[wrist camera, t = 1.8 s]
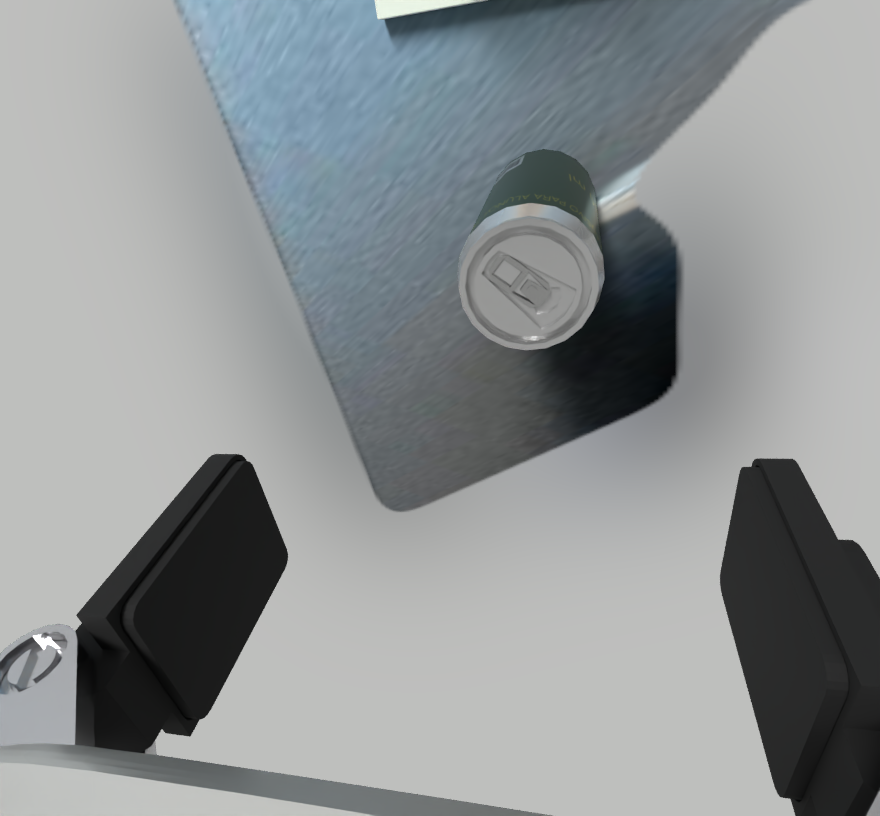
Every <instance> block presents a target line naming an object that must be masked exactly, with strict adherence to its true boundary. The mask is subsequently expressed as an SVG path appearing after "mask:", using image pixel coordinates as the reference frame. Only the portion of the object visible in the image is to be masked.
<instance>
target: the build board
mask: <svg viewBox="0 0 880 816" xmlns="http://www.w3.org/2000/svg"><path fill="white" fill-rule="evenodd" d="M483 1H488V0H375V5H376V11H377V17H378V19H382V20H384V19H390V18H395V17H401V16H406V15H412V14H417V13H423V12H428V11H434V10H439V9H445V8H450V7H456V6H461V5H466V4H472V3H477V2H483Z"/></svg>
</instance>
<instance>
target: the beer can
mask: <svg viewBox="0 0 880 816" xmlns="http://www.w3.org/2000/svg"><path fill="white" fill-rule="evenodd" d="M604 279H605V278H604V264H603V252H602V245H601V237H600V229H599V221H598V214H597V206H596V198H595V190H594V186H593V184H592V181H591V179H590V177H589V174H588V172H587V171H586V170H585V169H584V168H583V167H582V165H581V164H580V163H579V162H578V161H577V160H576V159H574V158H572V157H570V156H568V155H566V154H565V153H563V152H560V151H553V150H545V149H542V150H538V151H533V152H528V153H525V154H523V155H522V156H520V157H518V158H517V159H515V160H513V161H511V162H510V163H509V165H508V166H507V167H506V168H505V169H504V170H503V171H502V172H501V173H500V174H499V176H498V178H497V180H496V182H495V184H494V186H493V188H492V190H491V192H490V194H489V196H488V198H487V200H486V203H485V205H484V207H483V209H482V211H481V213H480V215H479V217H478V219H477V221H476V223H475V225H474V227H473V229H472V231H471V233H470V235H469V237H468V239H467V241H466V243H465V245H464V248H463V250H462V252H461V254H460V256H459V265H458V274H457V280H458V284H459V292H460V296H461V301H462V306H463V309H464V310H465V312H466V314H467V315H468V317H469V319H470V321H471V322H472V324H473V325H474V326H475V327H476V328H477V329H478V330H479V331H480V332H481V333H483V334H484V335H485V336H486V337H487V338H488V339H491V340H493V341H495V342H497V343H499V344H501V345H503V346H505V347H510V348H515V349H521V350H533V349H543V348H548V347H550V346H553V345H555V344H558V343H560V342H563V341H565V340H567V339H568V338H569V337H570V336H572V335H573V334H574V333H575V332H577V331H578V330H579V329H580V328H582V326H583V325H584V323H585V322H586V320H587V319H588V317H589V316H590V314H591V313H592V311H593V310H594V307H595V305H596V304H597V302H598V301H599V297H600V294H601V290H602V286H603V283H604Z"/></svg>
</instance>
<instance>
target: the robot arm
mask: <svg viewBox="0 0 880 816" xmlns="http://www.w3.org/2000/svg"><path fill="white" fill-rule="evenodd" d="M287 560H288V553H287V549H286V546H285V544H284V541H283V539H282V536H281V534H280V531H279V529H278V526H277V524H276V521H275V519H274V517H273V514H272V511H271V509H270V507H269V504H268V502H267V499H266V497H265V495H264V492H263V489H262V487H261V484H260V482H259V479H258V477H257V475H256V472H255V470H254V467H253V465H252V464H251V463H250V462H248V461H246V459H245V458H244V457H243V456H242V455H237V454H215V455H212V456H211V457H209V458H208V459H207V461H206V462H205V463H204V464H203V465H202V467H201V468H200V469H199V470H198V471H197V472H196V474H195V475H194V476H193V477H192V478H191V480H190V481H189V482H188V483H187V484H186V486H185V487H184V488H183V489H182V490H181V492H180V493H179V494H178V495H177V496H176V497H175V499H174V500H173V501H172V502H171V503H170V505H169V506H168V507H167V508H166V509H165V510H164V512H163V513H162V514H161V515H160V517H159V518H158V519H157V520H156V521H155V522H154V524H153V525H152V526H151V527H150V528H149V529H148V531H147V532H146V533H145V534H144V535H143V537H142V538H141V539H140V540H139V541H138V542H137V544H136V545H135V546H134V547H133V548H132V550H131V551H130V552H129V553H128V555H127V556H126V557H125V558H124V559H123V560H122V561H121V563H120V564H119V565H118V566H117V567H116V569H115V570H114V571H113V572H112V573H111V575H110V576H109V577H108V578H107V579H106V581H105V582H104V583H103V584H102V585H101V586H100V588H99V589H98V590H97V591H96V592H95V594H94V595H93V596H92V597H91V598H90V599H89V601H88V602H87V603H86V604H85V605H84V607H83V608H82V609H81V610H80V611H79V613H78V614H77V617H78V618H79V620H80V621H81V622H82V624H81V625H80V626H79V627H78V629H77V630H76V631H75V630H73V629H72V628H71V627H70V626H67V625H62V624H55V625H47V626H45V627H42V628H39V629H36V630H33V631H31V632H30V633H28V634H26V635H24V636H22V637H20V638H19V639H18V640H16V641H15V642H13V643H12V644H11V645H9V646H8V647H7V648H5V649H4V650H3V651H2V652H1V653H0V816H551V815H544V814H538V813H532V812H526V811H520V810H513V809H507V808H501V807H494V806H488V805H482V804H475V803H469V802H462V801H457V800H450V799H444V798H437V797H431V796H424V795H418V794H411V793H404V792H398V791H392V790H385V789H379V788H372V787H366V786H359V785H352V784H346V783H340V782H333V781H326V780H320V779H313V778H307V777H300V776H294V775H287V774H281V773H274V772H267V771H261V770H253V769H247V768H240V767H233V766H227V765H219V764H213V763H206V762H200V761H193V760H186V759H179V758H173V757H165V756H159V755H157V754H156V745H155V739H156V738H157V736H158V734H159V732H160V730H161V729H163V730H164V732H165V733H169V734H176V735H184V736H191V734H192V732H193V730H194V729H195V727H196V725H197V723H198V721H199V719H203V718H204V717H205V716H206V715H207V714H208V713H209V711H210V710H211V708H212V706H213V704H214V702H215V701H216V699H217V697H218V695H219V693H220V691H221V689H222V687H223V685H224V683H225V682H226V680H227V678H228V676H229V674H230V672H231V670H232V668H233V666H234V665H235V663H236V661H237V659H238V657H239V655H240V653H241V651H242V649H243V647H244V645H245V643H246V642H247V640H248V638H249V636H250V634H251V632H252V630H253V628H254V627H255V625H256V623H257V621H258V619H259V617H260V615H261V613H262V611H263V609H264V608H265V605H266V604H267V602H268V600H269V598H270V596H271V594H272V592H273V590H274V589H275V587H276V585H277V583H278V581H279V579H280V577H281V575H282V573H283V571H284V570H285V567H286V564H287ZM720 585H721V592H722V596H723V600H724V604H725V607H726V611H727V614H728V618H729V622H730V625H731V629H732V633H733V636H734V640H735V643H736V647H737V651H738V655H739V658H740V662H741V666H742V669H743V673H744V677H745V680H746V684H747V688H748V691H749V695H750V699H751V702H752V705H753V710H754V713H755V717H756V720H757V724H758V728H759V731H760V735H761V739H762V743H763V746H764V749H765V754H766V757H767V761H768V764H769V768H770V772H771V775H772V779H773V782H774V786H775V789H776V790H777V793H778V794H779V796H780V797H783V798H790V799H791V802H792V805H793V809H794V812H795V815H796V816H880V579H879V577H878V575H877V573H876V571H875V570H874V568H873V566H872V564H871V563H870V561H869V559H868V557H867V556H866V554H865V552H864V551H863V549H862V548H861V547H860V545H859V544H857V543H856V542H854V541H853V540H838V539H837V537H836V535H835V533H834V531H833V529H832V527H831V525H830V523H829V522H828V520H827V518H826V516H825V514H824V512H823V510H822V508H821V507H820V505H819V503H818V501H817V499H816V497H815V495H814V493H813V492H812V490H811V488H810V486H809V484H808V482H807V480H806V479H805V476H804V475H803V473H802V471H801V469H800V467H799V465H798V464H797V462H796V461H795V460H793V459H755V460H754V461H753V463H752V467H742V468H741V470H740V474H739V479H738V484H737V489H736V494H735V500H734V505H733V510H732V516H731V520H730V525H729V531H728V536H727V541H726V546H725V552H724V557H723V562H722V567H721V574H720Z"/></svg>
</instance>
